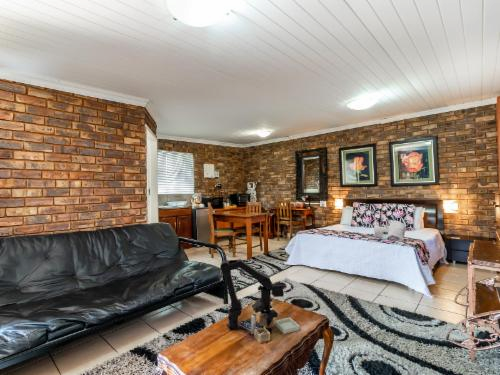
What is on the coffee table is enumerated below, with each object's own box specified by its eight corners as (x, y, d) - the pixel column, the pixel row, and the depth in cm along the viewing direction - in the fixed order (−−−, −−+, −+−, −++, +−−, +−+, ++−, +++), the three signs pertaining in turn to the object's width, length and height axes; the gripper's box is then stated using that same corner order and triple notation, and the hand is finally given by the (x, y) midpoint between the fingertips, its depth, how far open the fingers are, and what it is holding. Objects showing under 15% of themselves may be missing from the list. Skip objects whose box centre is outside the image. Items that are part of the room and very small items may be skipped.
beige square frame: (254, 336, 149) (254, 329, 149) (264, 334, 152) (264, 327, 152) (259, 343, 143) (259, 335, 143) (270, 340, 146) (270, 332, 146)
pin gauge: (250, 332, 154) (250, 314, 154) (254, 331, 155) (254, 313, 155) (252, 334, 151) (252, 317, 151) (256, 333, 152) (256, 315, 152)
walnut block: (259, 324, 162) (259, 314, 162) (268, 322, 165) (268, 312, 165) (263, 329, 157) (263, 318, 157) (273, 326, 159) (272, 316, 159)
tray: (274, 325, 161) (274, 321, 161) (289, 321, 165) (289, 317, 165) (283, 334, 151) (283, 329, 151) (299, 329, 156) (299, 325, 156)
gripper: (247, 293, 166) (247, 318, 166) (260, 306, 149) (260, 334, 149) (263, 290, 170) (263, 315, 170) (278, 302, 153) (278, 329, 153)
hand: (266, 323), depth 161 cm, fingers closed on walnut block, 6 cm apart
